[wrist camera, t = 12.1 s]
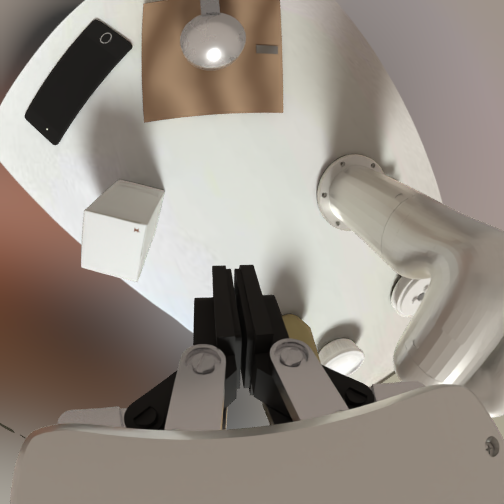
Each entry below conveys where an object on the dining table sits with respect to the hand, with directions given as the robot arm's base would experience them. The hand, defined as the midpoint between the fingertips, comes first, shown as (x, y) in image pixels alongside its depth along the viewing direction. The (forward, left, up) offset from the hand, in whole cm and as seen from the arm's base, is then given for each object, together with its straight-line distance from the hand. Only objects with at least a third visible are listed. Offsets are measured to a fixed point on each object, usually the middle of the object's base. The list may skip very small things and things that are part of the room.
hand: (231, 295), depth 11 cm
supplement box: (+12, +5, -28) cm, 31 cm away
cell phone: (+20, -16, -29) cm, 38 cm away
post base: (0, -16, -28) cm, 33 cm away
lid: (-41, +27, -29) cm, 57 cm away
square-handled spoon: (0, -21, -24) cm, 32 cm away
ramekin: (-24, +43, -29) cm, 57 cm away
